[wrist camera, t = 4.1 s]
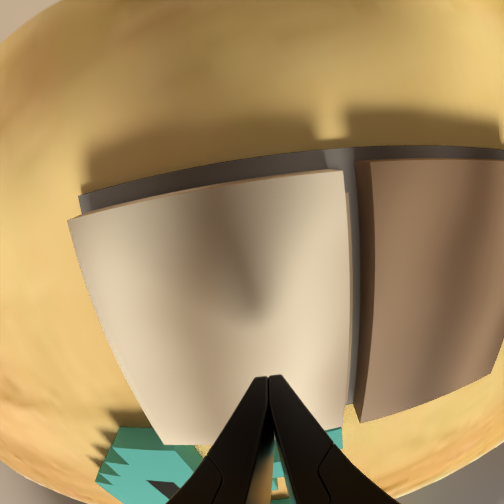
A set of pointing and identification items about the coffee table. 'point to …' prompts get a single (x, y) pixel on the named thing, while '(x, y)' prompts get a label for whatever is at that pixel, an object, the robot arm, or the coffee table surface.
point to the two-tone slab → (398, 260)
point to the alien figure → (161, 466)
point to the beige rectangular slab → (225, 296)
